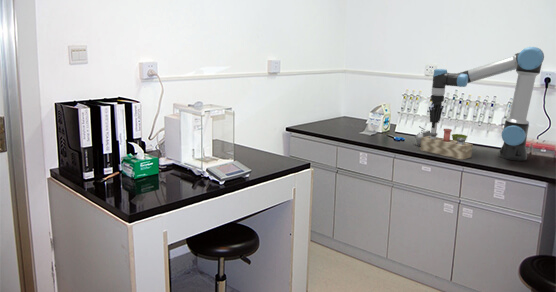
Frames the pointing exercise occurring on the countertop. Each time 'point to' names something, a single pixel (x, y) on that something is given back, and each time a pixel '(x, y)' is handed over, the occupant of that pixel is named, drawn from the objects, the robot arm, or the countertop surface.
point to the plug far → (433, 135)
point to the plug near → (460, 141)
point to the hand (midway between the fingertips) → (433, 132)
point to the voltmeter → (419, 136)
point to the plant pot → (458, 136)
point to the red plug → (447, 135)
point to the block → (446, 147)
